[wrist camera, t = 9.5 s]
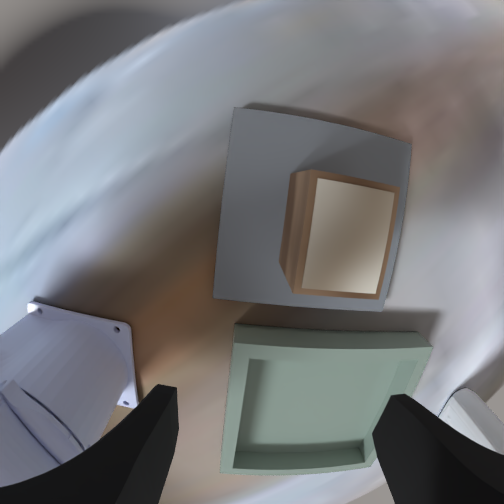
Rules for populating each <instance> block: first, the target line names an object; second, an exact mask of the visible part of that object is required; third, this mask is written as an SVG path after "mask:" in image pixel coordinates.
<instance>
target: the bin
mask: <svg viewBox="0 0 504 504" xmlns="http://www.w3.org/2000/svg"><path fill="white" fill-rule="evenodd" d="M432 349H433V346H432V345H431V344H430V343H429V342H428V341H427V340H426V339H425V338H424V337H423V336H422V335H420V334H419V333H418V332H370V331H335V330H314V329H297V328H283V327H270V326H258V325H248V324H238V323H235V327H234V336H233V345H232V354H231V363H230V372H229V381H228V390H227V400H226V409H225V419H224V428H223V438H222V448H221V461H220V473H225V474H240V475H304V474H318V473H329V472H338V471H346V470H353V469H360V468H366V467H371V465H372V464H373V462H374V461H375V459H376V458H377V454H376V450H375V446H374V442H373V437H372V432H373V430H374V428H375V426H376V424H377V422H378V421H379V419H380V417H381V415H382V413H383V411H384V409H385V407H386V405H387V403H388V400H389V398H390V396H391V395H396V394H406V395H408V396H410V397H411V396H412V394H413V392H414V390H415V388H416V386H417V384H418V382H419V380H420V377H421V375H422V373H423V371H424V368H425V366H426V364H427V361H428V359H429V356H430V354H431V352H432Z"/></svg>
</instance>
